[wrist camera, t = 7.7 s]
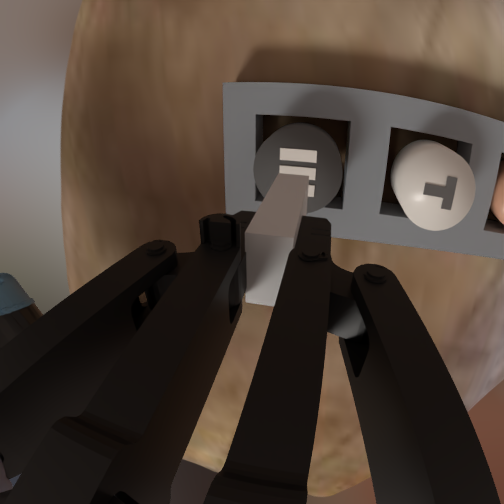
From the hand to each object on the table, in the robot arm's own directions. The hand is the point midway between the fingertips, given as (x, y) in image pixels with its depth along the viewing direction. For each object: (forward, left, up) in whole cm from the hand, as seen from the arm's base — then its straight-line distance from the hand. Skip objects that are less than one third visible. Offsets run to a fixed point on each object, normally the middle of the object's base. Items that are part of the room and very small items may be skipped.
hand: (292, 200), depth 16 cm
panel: (+10, 0, -12) cm, 15 cm away
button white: (+10, 0, -9) cm, 13 cm away
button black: (0, 0, -9) cm, 9 cm away
